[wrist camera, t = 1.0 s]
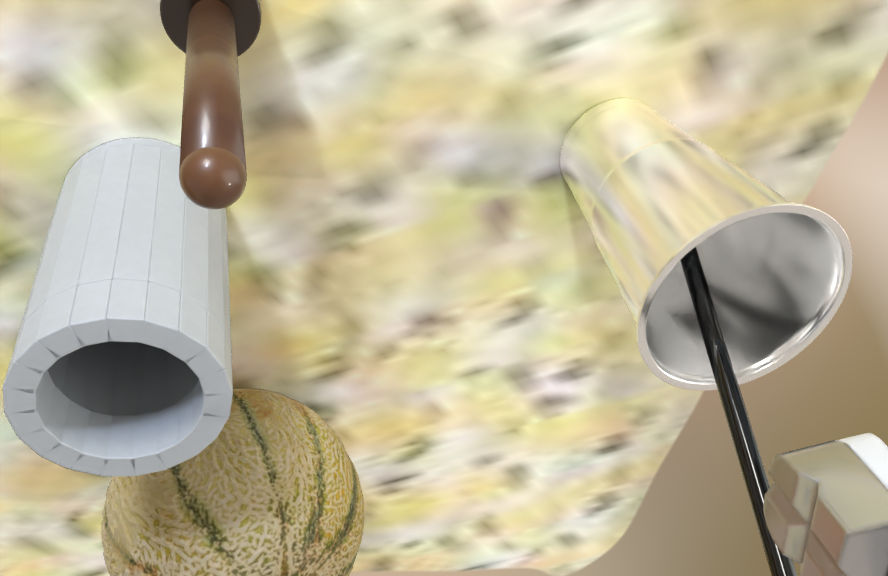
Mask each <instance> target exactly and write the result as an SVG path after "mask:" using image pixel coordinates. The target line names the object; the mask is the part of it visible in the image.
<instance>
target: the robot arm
mask: <svg viewBox="0 0 888 576" xmlns="http://www.w3.org/2000/svg"><path fill="white" fill-rule="evenodd" d="M769 474H770V476H771V477H772V479H773V480H774V481H775V483H774V484H773V485H772V487H770V489H769V490H768V491H767V492H766V493H765V498H764V506H763V511H764V516H765V521H766V525H767V528H768V530H769V533H770V535H771V537H772V539H773V541H774V543H775V544H776V546H777V547H778V549H779V550H780V552H781V553H782V555H784V556H786V557H788V558H790V559H792V560H793V561H795V562H797V563H799V564H800V565H801V566H800V576H888V447H887V446H886V445H885V444H884V443H883V442H882V441H881V439H880V438H878V437H877V436H875V435H873V434H871V433H866V434H862V435H858V436H853V437H849V438H845V439H841V440H837V441H829V442H825V443H821V444H817V445H814V446H809V447H806V448H802V449H798V450H794V451H790V452H786V453H782V454H778V455H776V456H775V457H774V458H773V459H772V461H771V463H770V468H769Z"/></svg>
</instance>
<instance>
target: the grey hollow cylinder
mask: <svg viewBox="0 0 888 576" xmlns="http://www.w3.org/2000/svg"><path fill="white" fill-rule="evenodd" d="M179 165H180V147H178V146H176V145H173V144H171V143H168V142H164V141H160V140H156V139H149V138H126V139H119V140H115V141H110V142H108V143H105V144H102V145H100V146H98V147H96V148H94V149H92V150H90V151H89V152H87V153H86V154H84V155H83V156H82V157H81V158H80V159H79V160H78V161H77V162H76V163H75V164H74V165H73V166H72V168H71V169H70V170H69V172H68V174H67V176H66V178H65V180H64V183H63V186H62V189H61V192H60V194H59V196H58V200H57V203H56V207H55V210H54V213H53V217H52V220H51V224H50V227H49V231H48V234H47V237H46V241H45V244H44V248H43V251H42V254H41V258H40V261H39V265H38V268H37V272H36V275H35V278H34V282H33V285H32V289H31V292H30V296H29V299H28V302H27V306H26V309H25V313H24V316H23V319H22V323H21V326H20V330H19V333H18V337H17V340H16V344H15V347H14V350H13V354H12V357H11V360H10V364H9V367H8V371H7V374H6V378H5V381H4V384H3V400H4V412H5V415H6V417H7V418H8V420H9V422H10V424H11V426H12V427H13V429H14V431H15V433H16V435H17V436H18V437H19V439H21V440H22V441H23V442H24V443H25V444H26V445H28V446H29V447H30V448H31V449H32V450H33V451H35V452H36V453H37V454H38V455H39V456H41V457H43V458H45V459H47V460H49V461H51V462H54V463H56V464H58V465H60V466H62V467H64V468H67V469H71V470H74V471H79V472H84V473H89V474H94V475H99V476H135V475H136V476H140V475H144V474H149V473H154V472H158V471H163V470H167V468H171V467H173V466H175V465H177V464H180V463H182V462H184V461H186V460H188V459H190V458H193V457H194V456H196V455H198V454H199V453H200V452H201V451H202V450H203V449H205V448H206V447H207V446H208V445H209V444H211V443H212V442H213V441H214V440H215V439H216V438H217V437H218V435H219V433H220V432H221V430H222V428H223V427H224V425H225V423H226V422H227V420H228V418H229V416H230V411H231V404H232V396H233V383H232V355H231V326H230V298H229V269H228V241H227V214H226V209H225V208H222V209H206V208H203V207H200V206H198V205H196V204H194V203H193V202H192V201H191V200H189V199H188V198H187V196H186V195H185V193H184V192H183V190H182V188H181V185H180V180H179Z"/></svg>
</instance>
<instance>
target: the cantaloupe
mask: <svg viewBox="0 0 888 576" xmlns="http://www.w3.org/2000/svg"><path fill="white" fill-rule="evenodd" d="M102 515H103V520H102V531H101V535H102V543H103V547H104V552H103V555H104V558H105V563H106V566H107V570H108V573H109V574H110V576H349V574H350V572H351V570H352V568H353V563H354V560H355V558H356V555H357V552H358V549H359V546H360V543H361V539H362V535H363V527H364V499H363V494H362V490H361V486H360V482H359V478H358V475H357V472H356V470H355V467H354V465H353V463H352V461H351V460H350V458H349V456H348V454H347V452H346V450H345V447H344V445H343V443H342V442H341V440H340V438H339V437H338V435H337V434H336V433H335V432H334V431H333V430H332V429H331V428H330V426H329V425H328V424H327V423H326V422H325V421H324V420H323V419H322V418H321V417H320V416H319V415H318V414H316V413H315V412H314V411H313V410H311V409H310V408H308V407H307V406H305V405H304V404H302V403H300V402H298V401H296V400H293V399H290V398H287V397H285V396H283V395H281V394H279V393H277V392H272V391H266V390H261V389H249V388H246V389H236V388H235V389H233V396H232V404H231V411H230V416H229V418H228V420H227V422H226V423H225V425H224V427H223V428H222V430H221V432H220V433H219V435H218V437H217V438H216V439H215V440H214V441H213V442H212V443H211V444H209V445H208V446H207V447H206V448H205V449H203V450H202V451H201V452H200V453H199V454H198V455H196V456H194V457H193V458H190V459H188V460H186V461H184V462H182V463H180V464H177V465H175V466H173V467H171V468H167V470H163V471H158V472H154V473H149V474H144V475H140V476H136V475H135V476H112V480H111V483H110V485H109V487H108V490H107V493H106V502H105V505H104V509H103V513H102Z"/></svg>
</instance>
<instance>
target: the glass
mask: <svg viewBox="0 0 888 576" xmlns="http://www.w3.org/2000/svg"><path fill="white" fill-rule="evenodd" d="M560 168H561V172H562V175H563V178H564V180H565V181H566V183H567V184H568V186H569V188H570V190H571V192H572V194H573V196H574V197H575V199H576V201H577V203H578V205H579V207H580V209H581V211H582V213H583V215H584V217H585V219H586V221H587V223H588V225H589V227H590V229H591V231H592V233H593V237H594V240H595V242H596V244H597V246H598V248H599V250H600V252H601V254H602V256H603V258H604V260H605V262H606V264H607V266H608V268H609V270H610V272H611V274H612V276H613V278H614V280H615V282H616V284H617V286H618V288H619V290H620V293H621V295H622V297H623V299H624V301H625V303H626V305H627V307H628V309H629V311H630V313H631V315H632V317H633V319H634V321H635V323H636V338H637V344H638V348H639V352H640V354H641V356H642V358H643V360H644V362H645V363H646V365H647V366H648V368H649V369H650V370H651V371H652V372H653V373H654V374H655V375H656V376H657V377H659V378H660V379H661V380H663V381H665V382H667V383H669V384H671V385H673V386H676V387H680V388H684V389H689V390H716V389H718V392H719V396H720V399H721V403H722V406H723V410H724V413H725V416H726V420H727V423H728V427H729V430H730V433H731V437H732V440H733V444H734V448H735V451H736V454H737V458H738V461H739V465H740V468H741V472H742V475H743V478H744V482H745V485H746V489H747V492H748V495H749V499H750V503H751V506H752V509H753V513H754V516H755V520H756V523H757V527H758V530H759V534H760V537H761V540H762V544H763V547H764V551H765V554H766V558H767V561H768V564H769V568H770V571H771V575H772V576H797V574H796V571H795V567H794V564H793V561H792V559H790V558H788V557H786V556H784V555H782V553H781V552H780V550H779V549H778V547H777V546H776V544H775V543H774V541H773V539H772V537H771V535H770V533H769V530H768V528H767V525H766V521H765V516H764V511H763V506H764V498H765V493H766V492H767V491H768V490H769V489H770V486H769V482H768V479H767V476H766V473H765V470H764V466H763V463H762V460H761V456H760V453H759V450H758V447H757V443H756V440H755V437H754V434H753V431H752V427H751V424H750V421H749V417H748V415H747V411H746V408H745V404H744V401H743V398H742V394H741V391H740V388H739V385H740V384H743V383H746V382H749V381H751V380H754V379H756V378H759V377H761V376H763V375H765V374H767V373H769V372H771V371H773V370H775V369H777V368H778V367H780V366H782V365H783V364H785V363H786V362H788V361H789V360H790V359H792V358H793V357H794V356H796V355H797V354H798V353H800V352H801V351H802V350H803V349H804V348H806V346H808V345H809V344H810V343H811V342H812V341H813V340H814V339H815V338H816V337H817V336H818V335H819V334H820V333H821V332H822V330H823V329H824V328H825V327H826V326H827V324H828V323H829V322H830V320H831V318H832V317H833V316H834V314H835V313H836V311H837V310H838V308H839V306H840V304H841V302H842V300H843V298H844V296H845V293H846V291H847V288H848V286H849V282H850V278H851V272H852V262H853V260H852V250H851V245H850V242H849V239H848V237H847V235H846V233H845V231H844V230H843V228H842V227H841V226H840V225H839V224H838V223H837V222H836V221H835V220H834V219H833V218H832V217H831V216H829V215H828V214H827V213H825V212H823V211H821V210H819V209H817V208H814V207H812V206H808V205H804V204H799V203H792V202H790V201H789V200H787V199H786V198H784V197H783V196H781V195H780V194H778V193H777V192H775V191H774V190H772V189H771V188H769V187H768V186H766V185H765V184H764V183H762V182H761V181H759V180H758V179H756V178H755V177H753V176H752V175H750V174H749V173H747V172H746V171H744V170H743V169H741V168H740V167H738V166H737V165H735V164H734V163H733V162H731V161H730V160H728V159H727V158H725V157H724V156H722V155H721V154H719V153H718V152H716V151H715V150H713V149H712V148H710V147H709V146H707V145H705V144H703V143H700V142H699V141H697V140H696V139H694V138H693V137H691V136H690V135H689V134H687V133H686V132H684V131H683V130H681V129H680V128H679V127H677V126H676V125H674V124H673V123H672V122H670V121H669V120H667V119H666V118H664V117H663V116H662V115H660V114H659V113H657V112H656V111H654V109H652V108H651V107H650V106H649V105H647V104H645V103H643V102H641V101H638V100H635V99H628V98H620V99H613V100H609V101H606V102H603V103H601V104H598V105H596V106H594V107H593V108H591V109H590V110H588V111H587V112H585V113H584V114H583V115H582V116H581V117H580V118H579V119H578V120H577V121H576V122H575V123H574V124H573V126H572V127H571V128H570V130H569V131H568V133H567V135H566V137H565V139H564V142H563V144H562V148H561V153H560Z"/></svg>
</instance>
